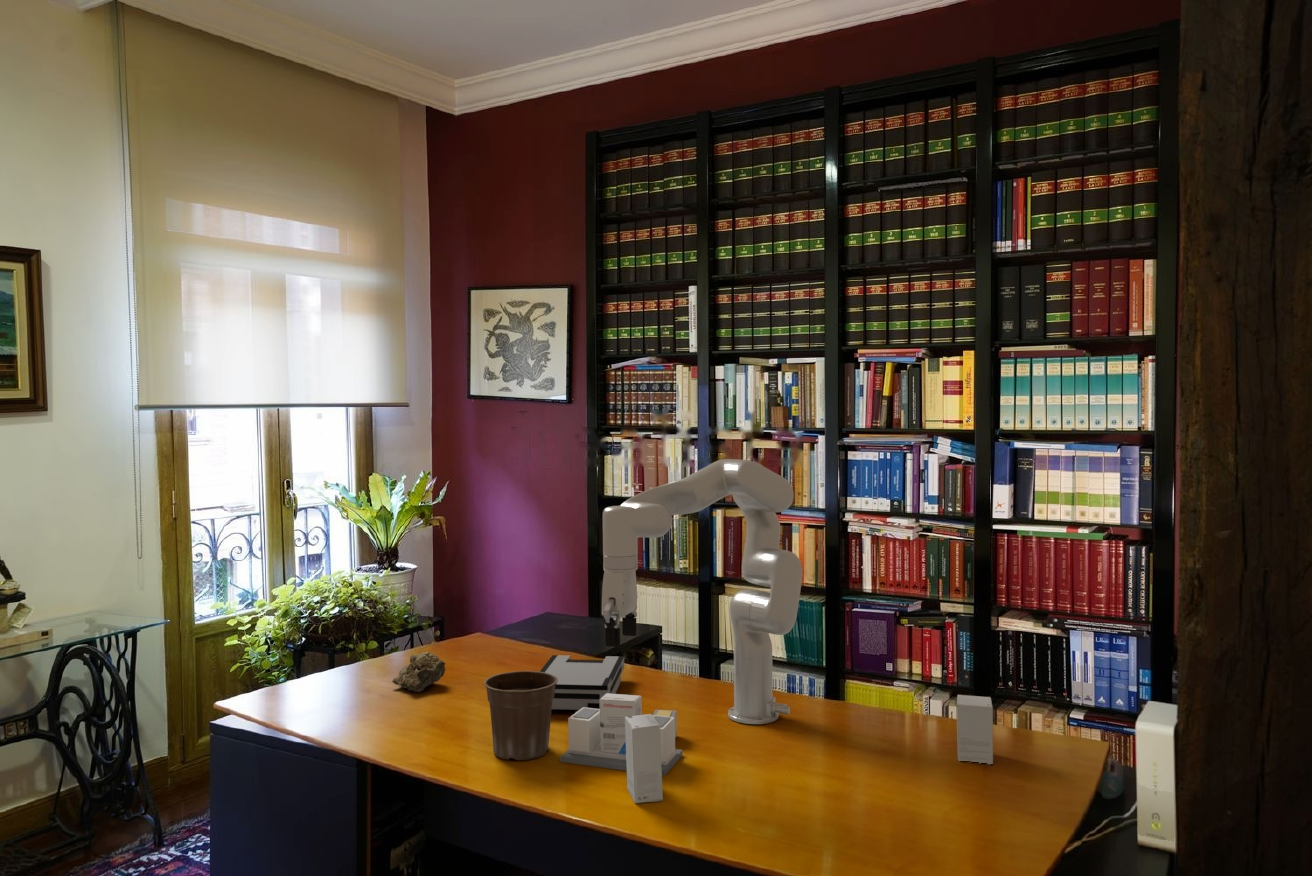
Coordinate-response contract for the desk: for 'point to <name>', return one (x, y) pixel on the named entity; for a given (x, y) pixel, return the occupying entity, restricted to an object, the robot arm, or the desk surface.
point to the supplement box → (975, 729)
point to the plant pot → (520, 713)
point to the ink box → (616, 720)
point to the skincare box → (643, 758)
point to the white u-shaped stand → (588, 752)
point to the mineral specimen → (420, 672)
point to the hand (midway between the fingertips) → (621, 640)
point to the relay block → (670, 714)
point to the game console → (583, 680)
